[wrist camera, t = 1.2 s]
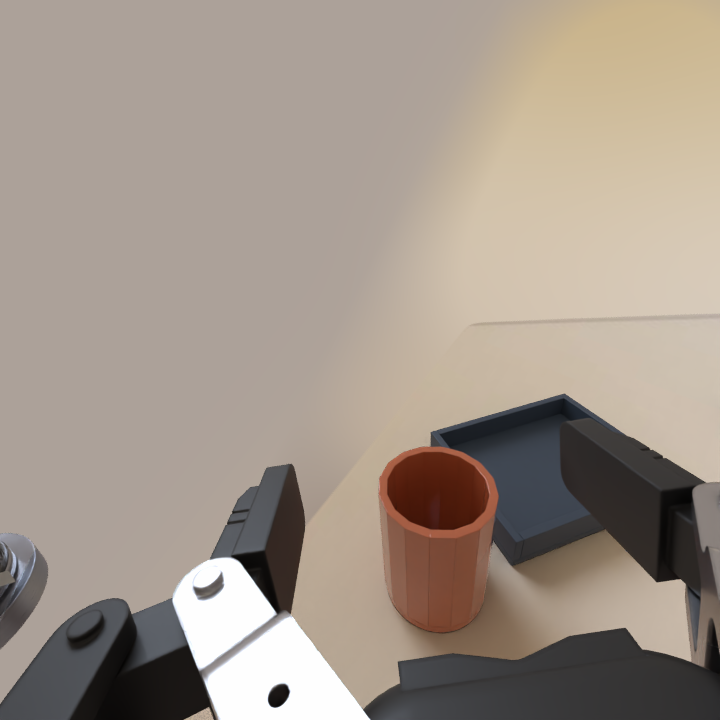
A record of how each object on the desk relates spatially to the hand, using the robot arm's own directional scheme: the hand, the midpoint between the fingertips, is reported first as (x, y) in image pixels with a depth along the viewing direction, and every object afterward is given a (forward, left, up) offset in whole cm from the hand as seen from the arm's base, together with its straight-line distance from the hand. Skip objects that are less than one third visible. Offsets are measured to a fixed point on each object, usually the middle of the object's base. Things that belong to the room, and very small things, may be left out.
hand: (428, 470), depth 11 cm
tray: (+17, +11, -18) cm, 27 cm away
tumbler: (+4, +6, -18) cm, 19 cm away
